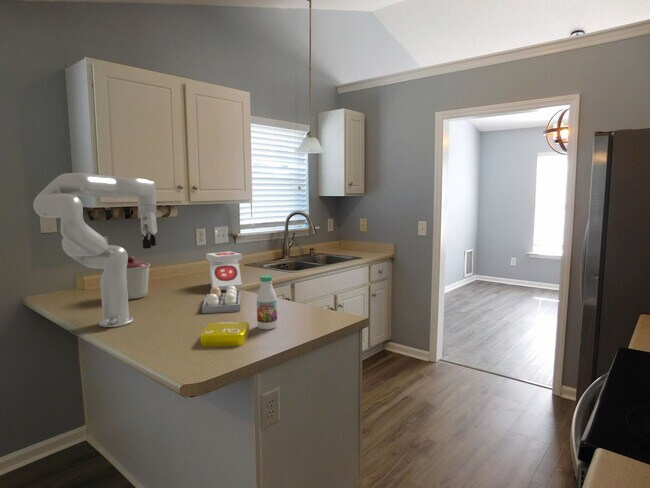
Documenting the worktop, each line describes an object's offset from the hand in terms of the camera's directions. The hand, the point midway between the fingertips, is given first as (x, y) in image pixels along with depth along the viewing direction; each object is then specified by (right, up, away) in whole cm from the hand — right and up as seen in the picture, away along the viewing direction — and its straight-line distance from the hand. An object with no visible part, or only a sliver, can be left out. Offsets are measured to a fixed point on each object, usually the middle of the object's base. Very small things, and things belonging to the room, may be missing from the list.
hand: (149, 247), depth 189 cm
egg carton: (+31, -27, +8) cm, 42 cm away
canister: (-19, -26, +25) cm, 41 cm away
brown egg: (+26, -26, +14) cm, 39 cm away
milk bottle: (+56, -31, -25) cm, 69 cm away
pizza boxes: (+23, -23, +47) cm, 57 cm away
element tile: (+43, -33, -38) cm, 66 cm away
